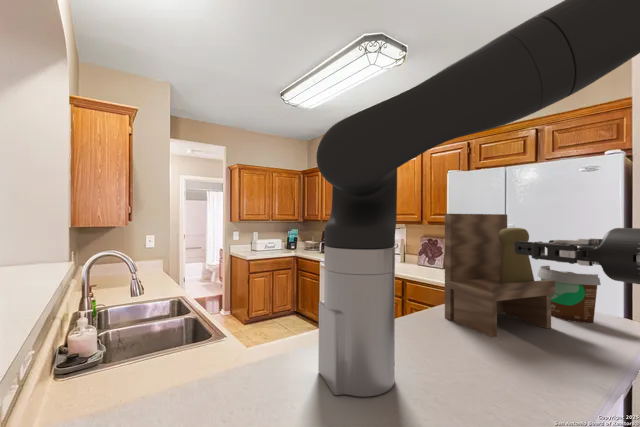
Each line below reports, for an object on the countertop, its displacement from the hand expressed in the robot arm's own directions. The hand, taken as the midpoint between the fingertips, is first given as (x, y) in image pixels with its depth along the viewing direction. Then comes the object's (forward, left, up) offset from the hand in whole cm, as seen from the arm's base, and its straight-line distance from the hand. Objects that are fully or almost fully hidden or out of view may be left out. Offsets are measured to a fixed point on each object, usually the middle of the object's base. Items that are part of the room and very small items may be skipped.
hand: (533, 246), depth 54 cm
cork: (+3, +6, -8) cm, 10 cm away
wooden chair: (0, +7, -16) cm, 17 cm away
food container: (+17, +7, -16) cm, 24 cm away
